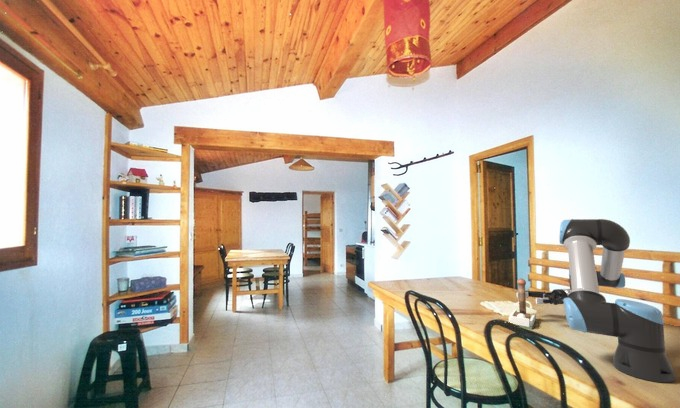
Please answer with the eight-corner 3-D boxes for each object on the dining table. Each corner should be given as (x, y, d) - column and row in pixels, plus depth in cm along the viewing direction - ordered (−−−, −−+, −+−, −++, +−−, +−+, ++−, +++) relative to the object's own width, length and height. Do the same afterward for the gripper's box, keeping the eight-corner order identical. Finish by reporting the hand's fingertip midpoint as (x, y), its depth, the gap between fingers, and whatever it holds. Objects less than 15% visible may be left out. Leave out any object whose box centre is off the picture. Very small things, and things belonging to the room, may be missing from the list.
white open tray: (531, 329, 145) (531, 319, 146) (508, 325, 151) (507, 316, 152) (536, 319, 161) (535, 310, 161) (514, 315, 167) (514, 307, 167)
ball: (526, 321, 154) (525, 323, 151) (517, 319, 156) (516, 321, 153) (526, 313, 154) (525, 315, 151) (517, 312, 157) (516, 313, 154)
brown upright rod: (529, 321, 153) (527, 280, 155) (514, 318, 157) (513, 278, 159) (530, 318, 157) (529, 278, 159) (516, 316, 161) (514, 277, 163)
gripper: (585, 310, 147) (545, 312, 145) (544, 297, 172) (510, 299, 169) (584, 294, 148) (545, 296, 145) (543, 284, 173) (509, 285, 170)
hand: (526, 297), depth 157 cm, fingers open, 13 cm apart
